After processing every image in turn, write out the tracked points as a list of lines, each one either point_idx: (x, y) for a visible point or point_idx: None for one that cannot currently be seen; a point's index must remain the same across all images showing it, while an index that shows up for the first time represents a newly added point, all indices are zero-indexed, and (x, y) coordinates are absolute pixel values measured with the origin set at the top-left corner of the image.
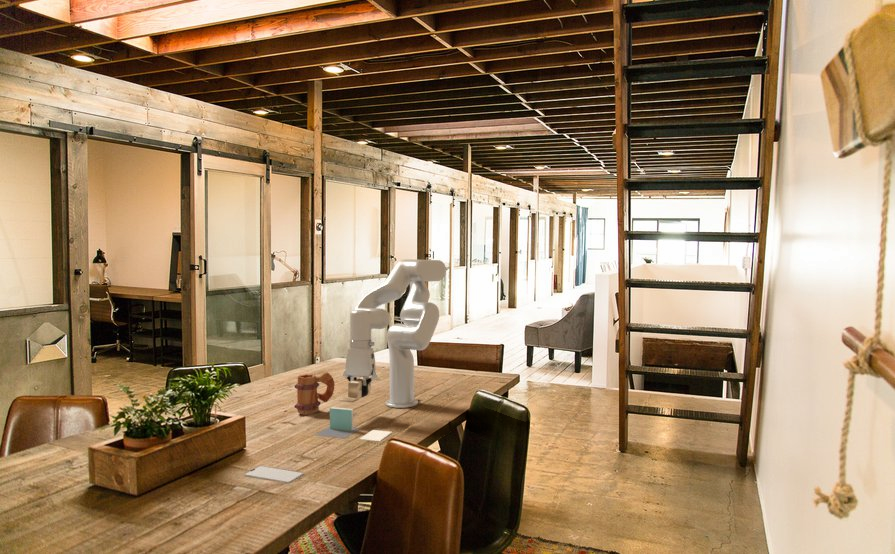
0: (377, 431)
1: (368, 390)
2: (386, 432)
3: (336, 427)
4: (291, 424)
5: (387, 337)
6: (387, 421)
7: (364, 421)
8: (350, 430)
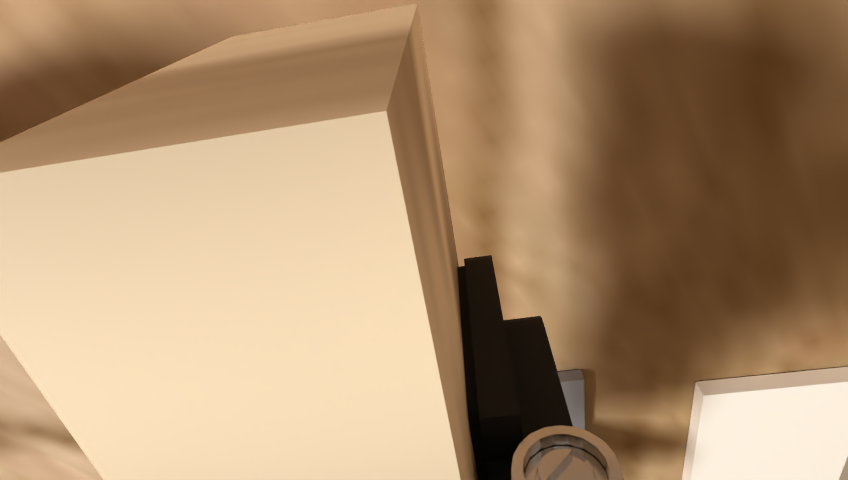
0: (754, 408)
1: (434, 146)
2: (833, 402)
3: None
4: (63, 447)
5: None
6: (723, 85)
7: (487, 189)
8: None
